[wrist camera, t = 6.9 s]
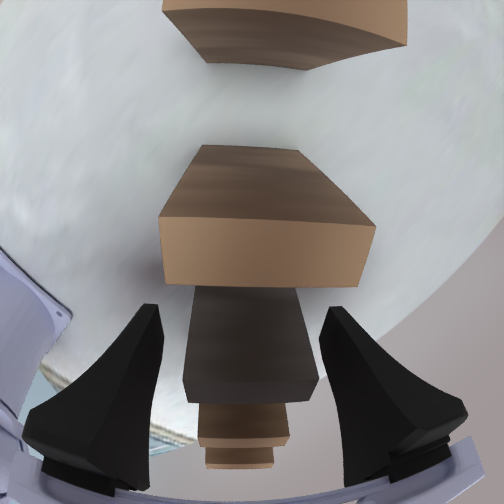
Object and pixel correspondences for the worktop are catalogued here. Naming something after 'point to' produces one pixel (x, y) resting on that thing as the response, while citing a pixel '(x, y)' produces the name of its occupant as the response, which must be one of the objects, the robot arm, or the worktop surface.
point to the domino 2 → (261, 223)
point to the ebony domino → (248, 347)
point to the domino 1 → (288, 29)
